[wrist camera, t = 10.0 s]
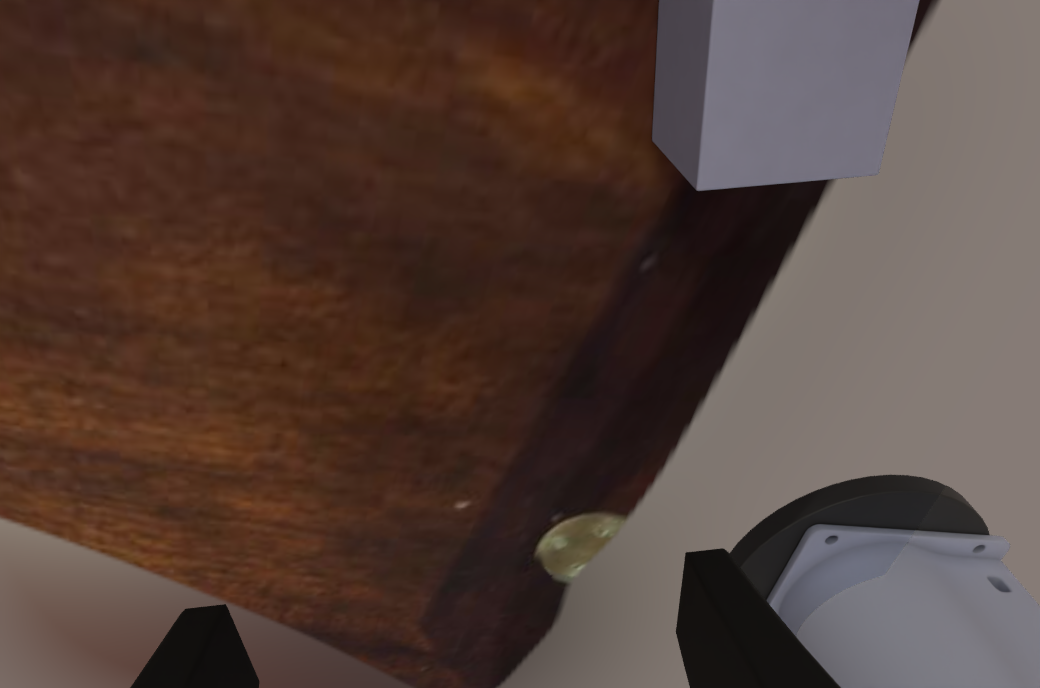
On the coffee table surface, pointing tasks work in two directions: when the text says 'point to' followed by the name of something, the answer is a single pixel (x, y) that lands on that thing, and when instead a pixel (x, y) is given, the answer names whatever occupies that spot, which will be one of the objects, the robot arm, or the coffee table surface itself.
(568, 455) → the coffee table surface
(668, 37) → the gray rectangular block
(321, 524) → the coffee table surface
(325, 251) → the coffee table surface
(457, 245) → the coffee table surface
